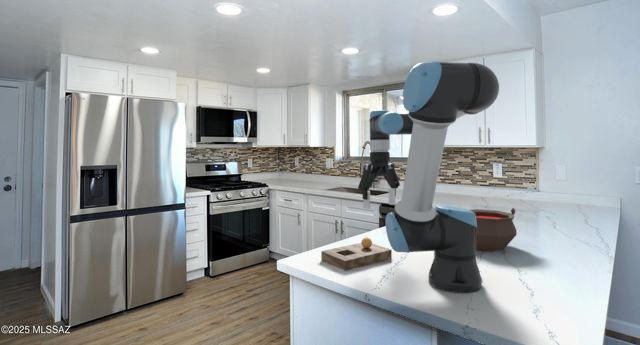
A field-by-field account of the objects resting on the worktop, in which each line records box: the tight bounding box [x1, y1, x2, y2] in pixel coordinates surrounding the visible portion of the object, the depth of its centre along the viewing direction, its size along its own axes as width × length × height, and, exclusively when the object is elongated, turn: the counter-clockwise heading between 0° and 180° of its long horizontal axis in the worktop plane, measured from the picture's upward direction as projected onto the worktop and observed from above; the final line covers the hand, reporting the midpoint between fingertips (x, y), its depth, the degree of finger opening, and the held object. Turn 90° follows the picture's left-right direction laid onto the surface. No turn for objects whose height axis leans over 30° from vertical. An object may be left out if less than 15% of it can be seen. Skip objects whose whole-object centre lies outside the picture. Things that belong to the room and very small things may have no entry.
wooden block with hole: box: [320, 242, 393, 272], centre depth 132 cm, size 22×14×4 cm, turn 124°
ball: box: [360, 237, 373, 248], centre depth 134 cm, size 4×4×4 cm
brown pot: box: [469, 207, 517, 252], centre depth 147 cm, size 24×24×16 cm
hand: (379, 206), depth 138 cm, fingers open, 13 cm apart
